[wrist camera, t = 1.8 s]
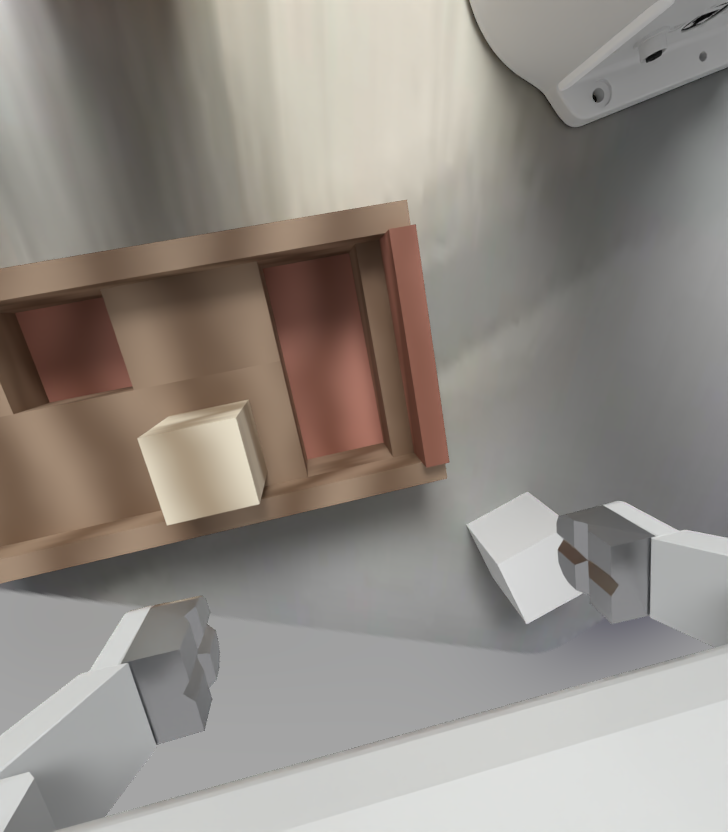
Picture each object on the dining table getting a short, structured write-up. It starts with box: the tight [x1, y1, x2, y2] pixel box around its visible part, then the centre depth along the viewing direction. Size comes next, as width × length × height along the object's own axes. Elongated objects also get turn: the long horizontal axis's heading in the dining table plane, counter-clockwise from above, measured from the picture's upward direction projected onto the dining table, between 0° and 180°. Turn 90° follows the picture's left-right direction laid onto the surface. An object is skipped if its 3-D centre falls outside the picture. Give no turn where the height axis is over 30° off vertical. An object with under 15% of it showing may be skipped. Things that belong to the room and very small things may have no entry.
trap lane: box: [0, 200, 449, 583], centre depth 26 cm, size 32×17×7 cm, turn 101°
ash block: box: [137, 400, 268, 525], centre depth 24 cm, size 5×5×5 cm
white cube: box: [467, 491, 582, 624], centre depth 33 cm, size 6×6×6 cm
